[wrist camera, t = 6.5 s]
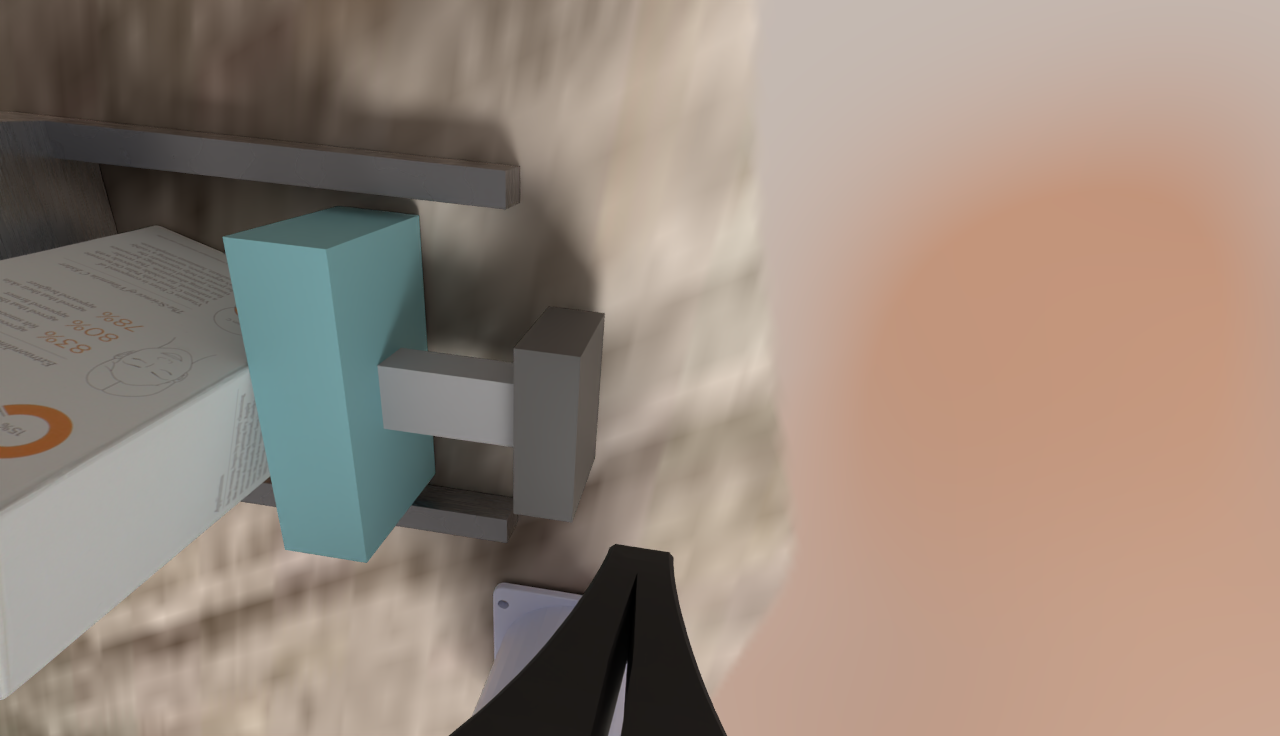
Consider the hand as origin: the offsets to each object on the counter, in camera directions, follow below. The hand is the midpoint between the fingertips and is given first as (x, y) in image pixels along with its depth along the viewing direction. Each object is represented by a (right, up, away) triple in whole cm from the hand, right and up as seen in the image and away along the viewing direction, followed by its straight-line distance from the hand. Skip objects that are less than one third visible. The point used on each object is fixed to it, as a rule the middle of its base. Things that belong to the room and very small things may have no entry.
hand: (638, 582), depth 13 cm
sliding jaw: (-6, +5, +10) cm, 13 cm away
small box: (-16, +6, +11) cm, 20 cm away
